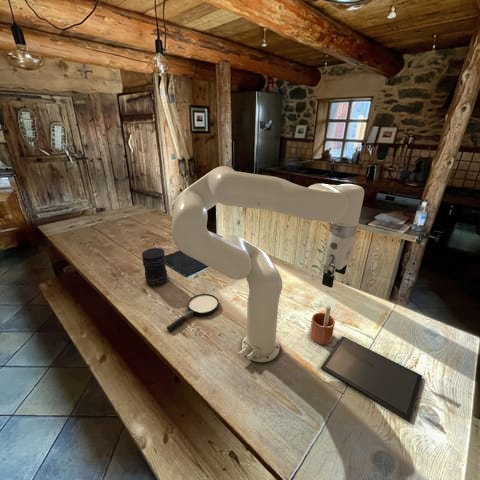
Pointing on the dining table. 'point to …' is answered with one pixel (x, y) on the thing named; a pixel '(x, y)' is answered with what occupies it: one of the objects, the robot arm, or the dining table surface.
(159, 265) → the storage jar
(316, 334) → the pen pot
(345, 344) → the tablet
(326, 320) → the stylus
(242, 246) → the robot arm
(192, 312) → the magnifying glass
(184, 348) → the dining table surface
